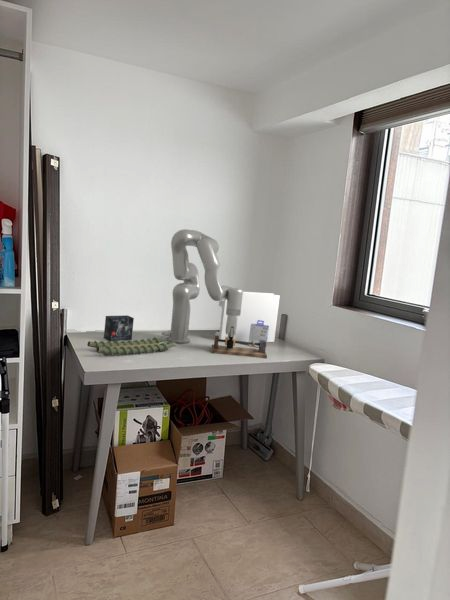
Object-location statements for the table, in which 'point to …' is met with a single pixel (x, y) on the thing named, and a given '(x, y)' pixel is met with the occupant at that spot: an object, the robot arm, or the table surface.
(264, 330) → the ink cartridge box
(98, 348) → the olive green bumpy strip
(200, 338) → the table surface
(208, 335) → the table surface
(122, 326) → the small box
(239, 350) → the cord board
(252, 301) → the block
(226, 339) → the sleeve
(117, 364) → the table surface
